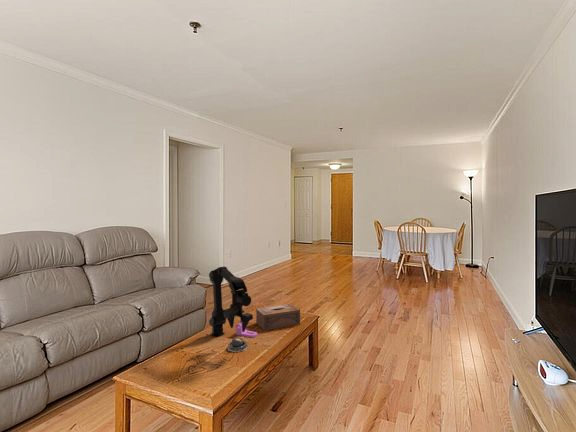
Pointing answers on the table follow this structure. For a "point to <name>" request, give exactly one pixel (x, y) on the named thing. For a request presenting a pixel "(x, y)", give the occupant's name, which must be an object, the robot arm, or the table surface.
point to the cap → (237, 342)
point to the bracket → (245, 333)
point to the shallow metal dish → (237, 349)
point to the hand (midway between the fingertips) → (237, 329)
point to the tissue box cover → (277, 316)
